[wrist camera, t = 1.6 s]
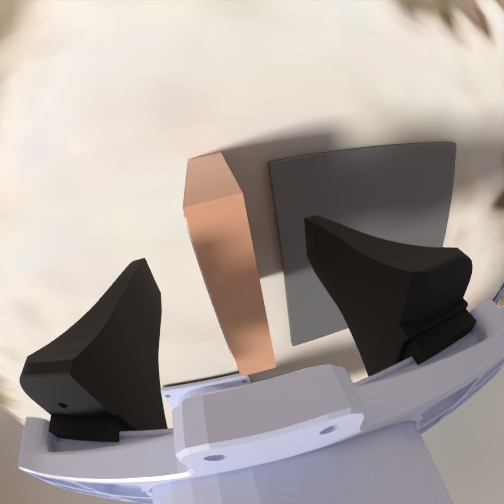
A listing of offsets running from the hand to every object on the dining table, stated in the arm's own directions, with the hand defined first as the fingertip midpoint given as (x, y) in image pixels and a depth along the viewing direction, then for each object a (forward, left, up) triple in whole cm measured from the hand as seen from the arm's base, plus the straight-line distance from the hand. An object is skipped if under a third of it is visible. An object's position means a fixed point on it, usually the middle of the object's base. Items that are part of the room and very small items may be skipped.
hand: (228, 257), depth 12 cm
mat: (-4, -10, -3) cm, 11 cm away
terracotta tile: (0, 0, -3) cm, 3 cm away
